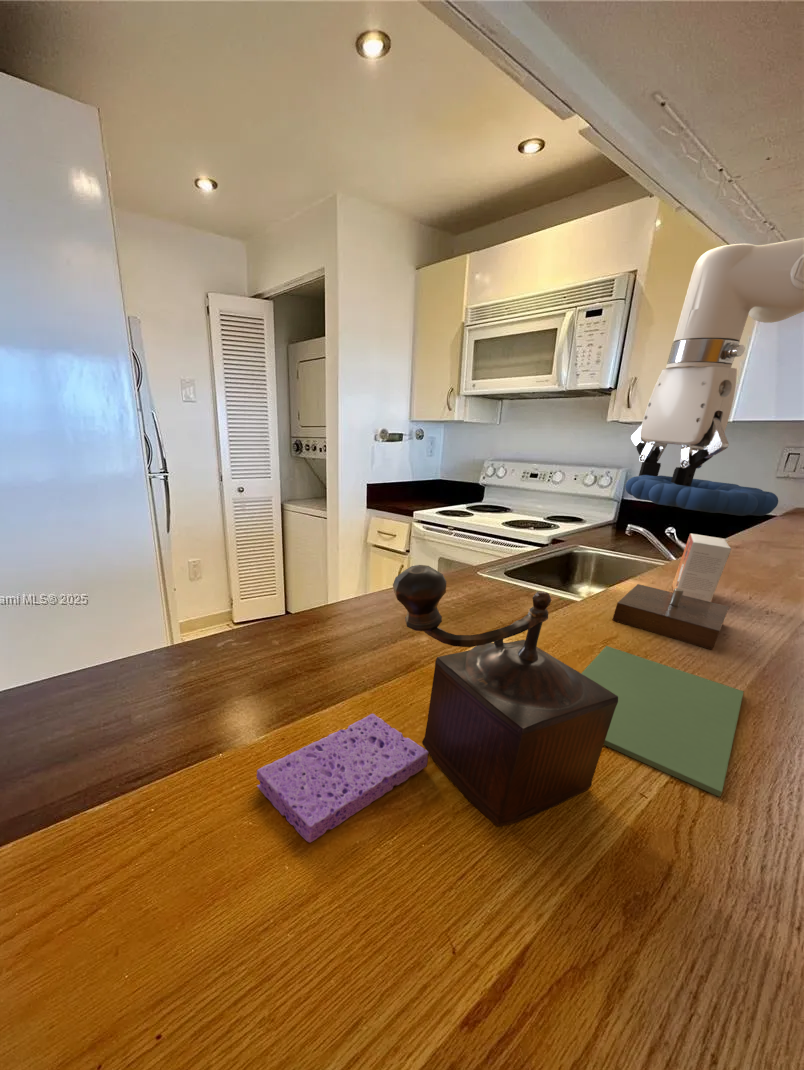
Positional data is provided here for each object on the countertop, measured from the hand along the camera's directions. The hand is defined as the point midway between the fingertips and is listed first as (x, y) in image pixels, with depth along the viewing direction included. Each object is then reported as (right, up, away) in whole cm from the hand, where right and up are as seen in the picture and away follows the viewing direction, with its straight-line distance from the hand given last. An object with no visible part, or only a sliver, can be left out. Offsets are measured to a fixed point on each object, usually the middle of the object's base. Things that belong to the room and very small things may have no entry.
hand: (660, 491), depth 71 cm
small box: (+15, -16, +16) cm, 27 cm away
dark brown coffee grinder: (-36, -31, -31) cm, 57 cm away
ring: (+2, -3, -5) cm, 6 cm away
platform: (+3, -20, +3) cm, 20 cm away
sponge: (-47, -31, -32) cm, 65 cm away
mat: (-14, -28, -20) cm, 37 cm away
